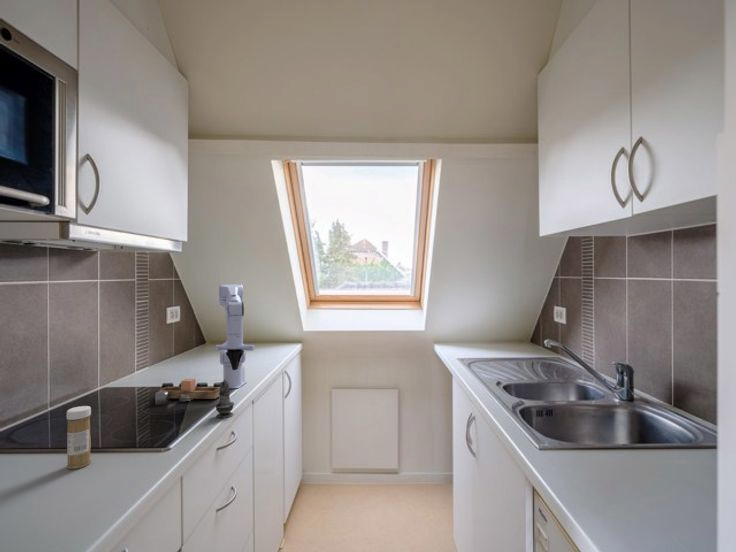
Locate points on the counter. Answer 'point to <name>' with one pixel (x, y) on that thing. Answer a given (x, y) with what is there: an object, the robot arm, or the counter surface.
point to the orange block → (188, 385)
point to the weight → (161, 398)
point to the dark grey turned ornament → (224, 401)
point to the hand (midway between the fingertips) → (235, 369)
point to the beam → (192, 393)
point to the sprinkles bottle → (78, 437)
